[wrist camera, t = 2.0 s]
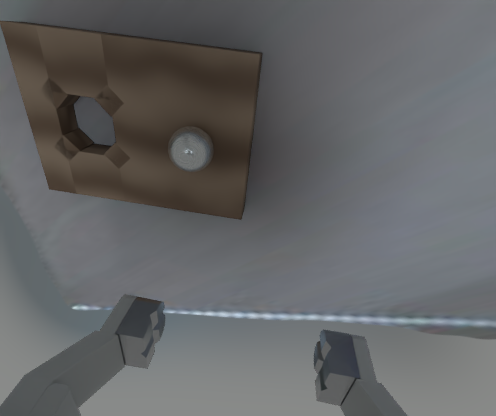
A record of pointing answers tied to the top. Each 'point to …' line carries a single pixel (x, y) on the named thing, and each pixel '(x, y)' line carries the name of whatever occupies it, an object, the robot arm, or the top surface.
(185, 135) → the steel ball
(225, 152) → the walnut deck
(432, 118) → the top surface
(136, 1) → the top surface
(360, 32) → the top surface
